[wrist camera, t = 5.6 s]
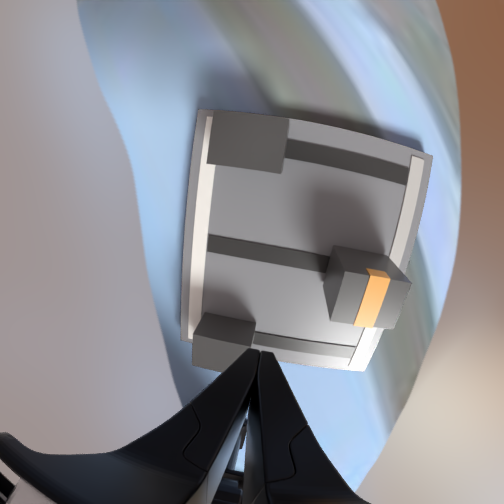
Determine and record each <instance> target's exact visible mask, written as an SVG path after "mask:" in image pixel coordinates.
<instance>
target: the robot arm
mask: <svg viewBox="0 0 504 504" xmlns="http://www.w3.org/2000/svg"><path fill="white" fill-rule="evenodd" d="M249 403H250V404H249ZM248 407H249V410H248ZM247 411H248V421H245V417H246V414H247ZM246 432H247V437H246V452H245V468H244V472H240V471H235V465H236V461H237V456H238V452H239V449H242V447H243V443H244V440H245V436H246ZM0 459H1V460H2V461H3V462H4V463H5V464H6V465H7V466H8V467H9V468H10V469H11V470H12V471H13V472H14V473H15V474H17V475H18V476H19V477H20V480H19V481H18V483H17V484H16V486H15V485H14V484H13V483H12V482H11V481H10V480H9V479H7V478H6V477H5V476H4V475H3V474H2V473H1V472H0V504H371V503H369V502H366V501H365V500H363V499H362V498H360V497H359V496H358V495H356V494H355V493H354V492H353V491H352V489H351V488H350V487H349V486H348V484H347V483H346V482H345V480H344V479H343V478H342V476H341V475H340V474H339V472H338V471H337V470H336V468H335V467H334V466H333V464H332V463H331V461H330V460H329V459H328V457H327V456H326V454H325V453H324V451H323V450H322V448H321V447H320V445H319V443H318V441H317V440H316V438H315V436H314V434H313V432H312V430H311V428H310V426H309V425H308V422H307V420H306V418H305V416H304V414H303V412H302V410H301V408H300V406H299V404H298V402H297V400H296V398H295V396H294V394H293V392H292V390H291V388H290V386H289V384H288V382H287V380H286V378H285V376H284V374H283V372H282V369H281V367H280V365H279V363H278V361H277V359H276V357H275V355H274V353H273V352H270V351H264V350H262V351H261V352H260V350H258V349H253V348H247V349H246V350H245V351H244V352H243V353H242V354H241V355H240V356H239V357H238V358H237V359H236V360H235V361H234V362H233V363H232V364H231V365H230V366H229V367H228V368H227V369H225V370H224V371H223V372H222V373H221V374H220V375H219V376H218V377H217V378H216V379H215V380H214V381H213V382H212V383H210V384H209V385H208V386H207V387H206V388H205V389H204V390H203V391H202V392H201V393H199V394H198V395H197V396H196V397H195V398H194V399H193V400H192V401H191V402H190V403H188V404H187V405H186V406H185V407H184V408H182V409H181V410H180V411H179V412H178V413H176V414H175V415H174V416H173V417H171V418H170V419H169V420H167V421H166V422H164V423H163V424H161V425H160V426H158V427H157V428H155V429H153V430H152V431H150V432H149V433H147V434H145V435H143V436H142V437H140V438H138V439H136V440H135V441H133V442H131V443H129V444H128V445H126V446H124V447H122V448H120V449H117V450H115V451H111V452H107V453H98V454H76V455H55V454H43V453H39V452H36V451H33V450H31V449H29V448H27V447H26V446H24V445H23V444H22V443H20V442H19V441H18V440H17V439H16V438H15V437H13V436H12V435H10V434H9V433H6V432H3V433H0Z"/></svg>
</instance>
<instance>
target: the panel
mask: <svg viewBox="0 0 504 504" xmlns="http://www.w3.org/2000/svg"><path fill="white" fill-rule="evenodd" d="M432 160H433V156H432V155H429V154H426V153H424V152H421V151H418V150H415V149H412V148H409V147H406V146H403V145H400V144H397V143H394V142H390V141H387V140H384V139H380V138H377V137H373V136H370V135H366V134H362V133H358V132H354V131H350V130H346V129H342V128H337V127H333V126H328V125H323V124H319V123H313V122H308V121H303V120H297V119H291V118H285V117H278V116H271V115H263V114H255V113H246V112H236V111H224V110H208V109H198V115H197V121H196V128H195V135H194V143H193V150H192V159H191V167H190V176H189V186H188V196H187V207H186V219H185V232H184V247H183V265H182V289H181V340H182V341H186V342H190V343H192V365H193V366H197V367H201V368H205V369H209V370H214V371H218V372H223V371H224V370H225V369H227V368H228V367H229V366H230V365H231V364H232V363H233V362H234V361H235V360H236V359H237V358H238V357H239V356H240V355H241V354H242V353H243V352H244V351H245V350H246V349H247V348H253V349H258V350H260V352H261V351H262V350H264V351H270V352H273V353H274V355H275V357H276V359H277V361H281V362H287V363H294V364H300V365H308V366H315V367H323V368H332V369H342V370H352V371H365V369H366V367H367V365H368V363H369V361H370V359H371V357H372V355H373V352H374V350H375V348H376V346H377V344H378V341H379V339H380V337H381V335H382V332H383V330H384V328H377V327H373V328H367V327H359V326H353V324H346V323H339V322H332V321H330V319H329V314H328V309H327V304H326V299H325V295H324V290H323V283H324V279H325V275H326V271H327V267H328V263H329V259H330V255H331V251H332V247H333V245H337V246H342V247H347V248H352V249H357V250H362V251H367V252H372V253H377V254H382V255H387V256H388V257H389V258H390V259H391V260H392V261H393V262H394V263H395V265H396V266H397V267H398V268H399V269H400V270H401V271H402V273H403V274H404V275H405V272H406V269H407V266H408V263H409V259H410V256H411V253H412V249H413V246H414V242H415V239H416V235H417V231H418V228H419V224H420V220H421V216H422V211H423V207H424V203H425V198H426V193H427V188H428V183H429V178H430V172H431V166H432Z"/></svg>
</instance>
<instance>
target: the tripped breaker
mask: <svg viewBox="0 0 504 504" xmlns="http://www.w3.org/2000/svg"><path fill="white" fill-rule="evenodd" d="M411 284H412V283H411V282H410V281H409V279H408V278H407V277H406V276H405V275H404V274H403V273H402V271H401V270H400V269H399V268H398V267H397V266H396V265H395V263H394V262H393V261H392V260H391V259H390V258H389V257H388V256H387V255H382V254H377V253H372V252H367V251H362V250H357V249H352V248H347V247H342V246H337V245H333V247H332V251H331V255H330V259H329V263H328V267H327V271H326V275H325V279H324V283H323V290H324V295H325V299H326V304H327V309H328V314H329V319H330V321H332V322H339V323H346V324H353V326H359V327H367V328H373V327H377V328H385V329H394V327H395V324H396V322H397V320H398V317H399V315H400V312H401V310H402V307H403V305H404V302H405V300H406V297H407V295H408V292H409V289H410V286H411Z"/></svg>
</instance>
